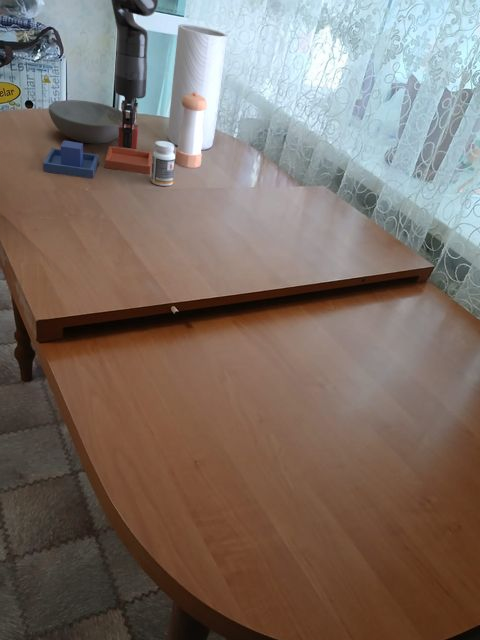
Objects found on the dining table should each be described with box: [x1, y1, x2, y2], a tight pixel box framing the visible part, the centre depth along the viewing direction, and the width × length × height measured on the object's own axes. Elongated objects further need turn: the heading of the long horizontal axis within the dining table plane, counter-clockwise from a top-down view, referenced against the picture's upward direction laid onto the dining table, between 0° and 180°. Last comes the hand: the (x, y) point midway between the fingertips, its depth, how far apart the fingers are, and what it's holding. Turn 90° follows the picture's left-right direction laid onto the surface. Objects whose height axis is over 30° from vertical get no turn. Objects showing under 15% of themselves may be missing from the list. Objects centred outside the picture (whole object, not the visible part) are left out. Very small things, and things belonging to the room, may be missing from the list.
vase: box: [167, 23, 228, 151], centre depth 162 cm, size 14×14×32 cm
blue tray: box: [42, 147, 99, 179], centre depth 137 cm, size 12×12×2 cm
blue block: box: [60, 140, 84, 167], centre depth 136 cm, size 5×5×5 cm
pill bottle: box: [150, 140, 176, 187], centre depth 138 cm, size 6×6×10 cm
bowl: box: [48, 99, 122, 145], centre depth 154 cm, size 21×21×8 cm
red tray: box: [104, 145, 153, 175], centre depth 147 cm, size 12×12×2 cm
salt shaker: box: [175, 92, 208, 169], centre depth 151 cm, size 7×7×19 cm
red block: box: [117, 122, 139, 150], centre depth 142 cm, size 5×5×5 cm
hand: (127, 144), depth 143 cm, fingers closed on red block, 4 cm apart
